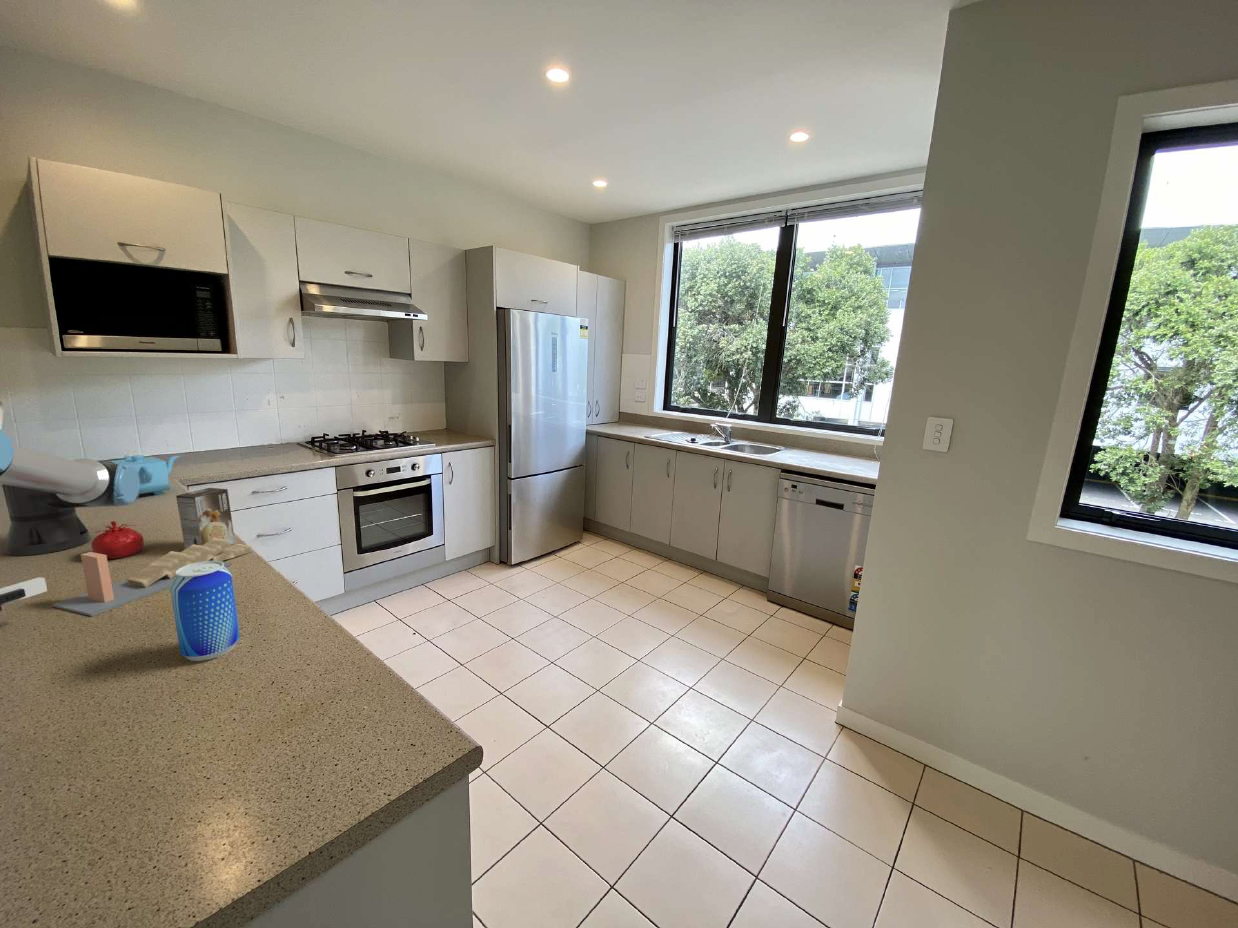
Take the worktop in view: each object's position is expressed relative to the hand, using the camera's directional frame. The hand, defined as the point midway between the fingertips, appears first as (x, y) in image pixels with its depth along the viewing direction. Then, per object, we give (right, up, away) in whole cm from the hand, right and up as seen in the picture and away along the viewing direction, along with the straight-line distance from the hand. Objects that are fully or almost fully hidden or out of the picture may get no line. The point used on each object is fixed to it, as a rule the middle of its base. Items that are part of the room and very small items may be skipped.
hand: (43, 584), depth 98 cm
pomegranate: (-18, -1, +33) cm, 38 cm away
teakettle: (-65, +12, +88) cm, 111 cm away
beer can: (+39, -11, -7) cm, 41 cm away
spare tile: (+2, -5, +9) cm, 11 cm away
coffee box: (0, 0, +40) cm, 40 cm away
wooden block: (+8, -1, +29) cm, 30 cm away
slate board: (+4, -4, +18) cm, 19 cm away
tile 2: (+4, -3, +15) cm, 16 cm away
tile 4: (+6, -2, +24) cm, 25 cm away
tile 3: (+5, -3, +20) cm, 20 cm away
